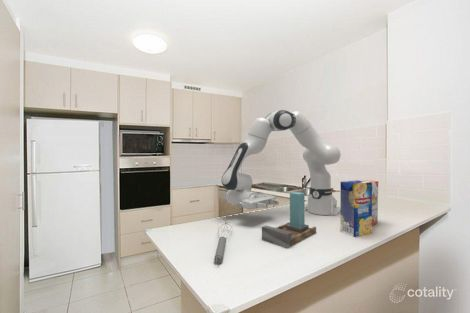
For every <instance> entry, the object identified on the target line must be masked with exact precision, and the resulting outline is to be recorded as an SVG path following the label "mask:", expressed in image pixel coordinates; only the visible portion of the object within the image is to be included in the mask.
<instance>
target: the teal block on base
mask: <svg viewBox="0 0 470 313" xmlns="http://www.w3.org/2000/svg"><path fill="white" fill-rule="evenodd" d="M305 202H306V201H305V192H299V191H293V192H289V222H290V224H288V225H286V229H289V230H293V231H296V232H300V233H301V232H303V231H305V230H307V229H309V228H310V226H309V224H305V222H306V221H305V220H306V219H305V213H306V212H305V211H306V209H305V208H306V207H305V205H306V204H305Z"/></svg>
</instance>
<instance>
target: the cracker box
mask: <svg viewBox="0 0 470 313" xmlns="http://www.w3.org/2000/svg"><path fill="white" fill-rule="evenodd" d="M364 181H367V182H372V226H374V225H377V224H378V222H379V221H378V220H379V219H378V217H379V181H377V180H369V179H367V180H364Z"/></svg>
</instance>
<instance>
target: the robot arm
mask: <svg viewBox="0 0 470 313" xmlns="http://www.w3.org/2000/svg"><path fill="white" fill-rule="evenodd" d="M286 130H289V131H290V132H291V133H292V134H293V136H294V138H295V139H296V140H297V142H298V143H299V144H300V145H301V146H302V147H303V148H305V149H304V150H303V152H302V158H303V160H304V161H305V163H306V164H307V167H308V171H309V176H310V178H309V179H310V187H309V195H308V197H307V204H306V205H307V206H306V207H305V211H307V212H308V213H310V214H314V215H320V216H337V215H339V214H340V213H341V207H338V200H337V199H336V197H334V195H333V192H334V188H332V186H331V184H332V182H331V181H332V180H331V179H332V178H331V177H332V176H331V174H330V172H329V171H328V170H327V167H326V165H327V166H329V165H330V166H331V165H333V164H336V163H338V162H339V161H340V159H341V155H342V154H341V151H340V149H339V147H337V146H335V145H332V144H331V143H330V142H328V141H327V140H325V139H324V137H322V136H321V135H320V134H319V133H318V132H317V130H316V129H315V127H314V126H313V125H312V123H311V122H310V121H309V119H307V117H306V116H305V115H304V113H302V112H301V111H299V110H294V111H292V112H290V111H289V110H286V109H280V110H275V111H273V112H270V113H269V114H267V115H266V116H265V117H257V118H255V119H254V120H253V123H252V124H251V126H250V128H249V131H248V133H247V136H246V138H245V139H244V140H243V142H242V143H241V144H239V145H238V147H237V149H235V150H236V151H235V153H234V155H233V157H232V159H231V160H230V163H229V165H228V166H227V168H226V170H225V171H224V173H223V174H222V176H221V185H222V186H223V188H224V189H225V190H227V191H226V194H225V198H226V201H227V202H228V203H229V204H230V205H233V206H236V207H242V208H243V209H246V210H250V211H252V210H257V209H267V208H268V206H271V205H275V206H277V205H279V204H280V201H279V200H277V197H276V196H274V195H272V194H266V193H264V192H261V191H260V192H259V191H258V192H257V191H256V192H255V191H252V188H253V187H252V186H253V179H252V177H251V175H249V174H247V173H241V172H239V171H240V169H241V166H242V164H243V163H244V161H245V159H246V158H247V157H248V156H252V155H257V154H260V153H261V152H263V151H264V150H265V148H266V145H267V143H268V142H267V141H268V139H269V136H270V134H271V133H272V132H281V131H286Z"/></svg>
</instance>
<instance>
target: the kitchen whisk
mask: <svg viewBox="0 0 470 313" xmlns="http://www.w3.org/2000/svg"><path fill="white" fill-rule="evenodd" d="M221 222H223V223H222V225H221V226H219V228H217V233H220V231H219V229H220V228H221V233H224V234H223V235H221V234H217V235H218V238H219V239H218V243H217V246H216V247H217V248H216V250H215V254H214V259H213V260H214V263H215V264H216V265H217V266H219V265H221V264H222V262H223V261H224V260H223V259H224V254H225V247H226V243H227V239H228V237H230V236H231V235H232V232H233V231H232V228H233V225H230V224H229V223H231V224H233V222H232V221H226V220H225V219H222V220H221V221H220V222H219V223H218V224H221ZM228 225H229V226H230V228H229V226H228ZM222 226H224V227H222ZM225 226H226V227H225ZM222 228H223V229H222ZM228 228H229V231H227V229H228ZM226 231H227V234H226ZM230 231H231V232H230ZM229 233H230V234H229ZM225 234H226V235H225ZM227 236H228V237H227Z"/></svg>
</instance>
